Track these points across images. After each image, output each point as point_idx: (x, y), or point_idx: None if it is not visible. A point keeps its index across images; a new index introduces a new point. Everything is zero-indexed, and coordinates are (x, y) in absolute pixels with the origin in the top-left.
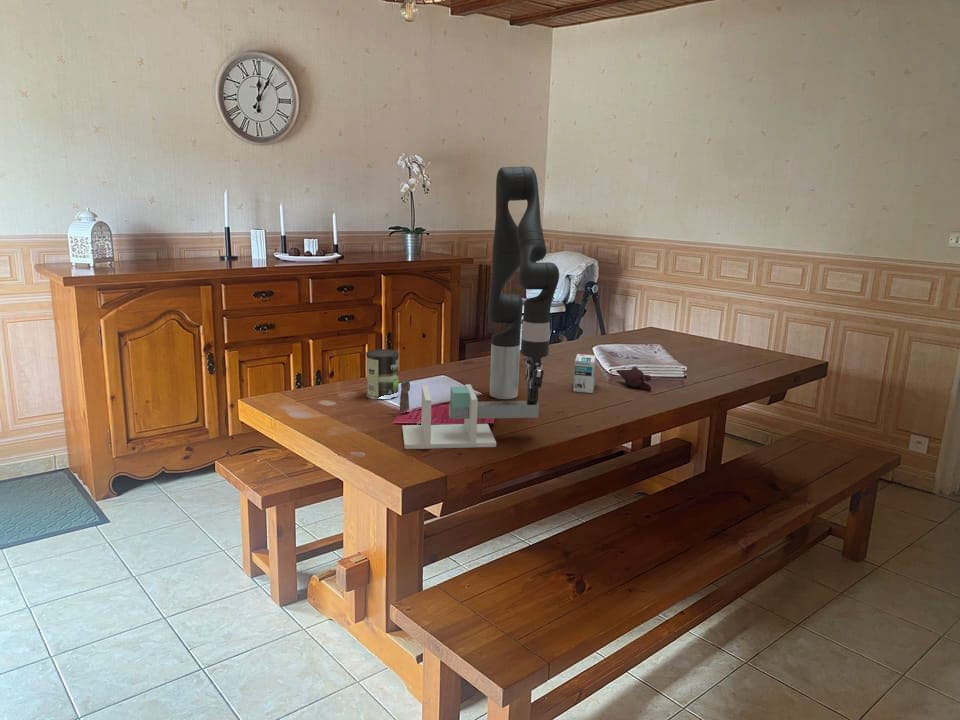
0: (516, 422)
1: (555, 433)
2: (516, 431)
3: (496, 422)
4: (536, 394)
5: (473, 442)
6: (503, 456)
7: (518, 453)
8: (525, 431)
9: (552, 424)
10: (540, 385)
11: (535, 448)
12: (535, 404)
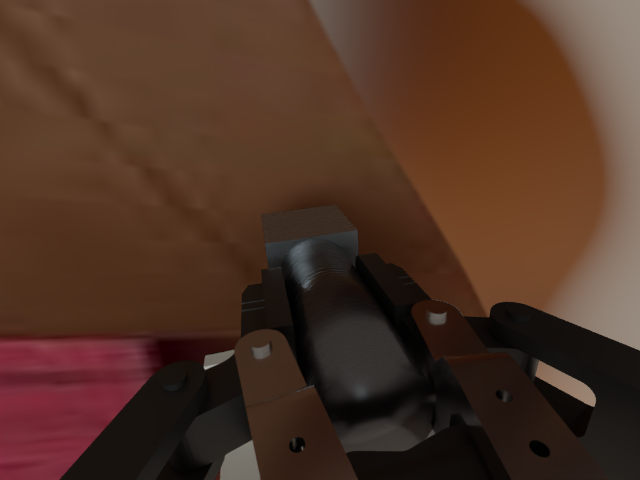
0: (107, 253)
1: (242, 80)
2: (234, 256)
3: (130, 330)
4: (416, 290)
5: None
6: (468, 296)
7: (453, 254)
8: (230, 220)
9: (92, 70)
10: (559, 325)
11: (417, 195)
12: (350, 251)
